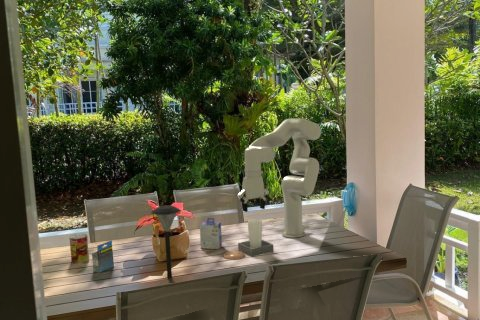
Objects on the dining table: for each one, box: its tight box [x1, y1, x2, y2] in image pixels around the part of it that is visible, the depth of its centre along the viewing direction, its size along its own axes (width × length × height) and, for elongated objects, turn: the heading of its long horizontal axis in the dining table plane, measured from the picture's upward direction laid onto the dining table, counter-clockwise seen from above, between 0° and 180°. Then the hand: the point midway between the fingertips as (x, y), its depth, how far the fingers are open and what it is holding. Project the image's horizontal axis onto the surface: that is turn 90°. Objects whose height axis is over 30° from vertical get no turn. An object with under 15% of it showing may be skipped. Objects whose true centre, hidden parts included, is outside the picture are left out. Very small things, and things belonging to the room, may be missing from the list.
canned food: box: [69, 233, 90, 265], centre depth 222 cm, size 8×8×12 cm
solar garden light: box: [150, 204, 181, 279], centre depth 195 cm, size 12×12×30 cm
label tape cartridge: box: [91, 239, 115, 274], centre depth 209 cm, size 9×4×12 cm, turn 150°
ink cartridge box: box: [199, 217, 223, 250], centre depth 235 cm, size 10×6×14 cm, turn 79°
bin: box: [237, 239, 274, 257], centre depth 227 cm, size 12×12×4 cm
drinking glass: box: [247, 218, 263, 249], centre depth 227 cm, size 7×7×15 cm
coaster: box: [223, 250, 246, 260], centre depth 221 cm, size 10×10×1 cm
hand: (253, 209), depth 225 cm, fingers open, 9 cm apart
